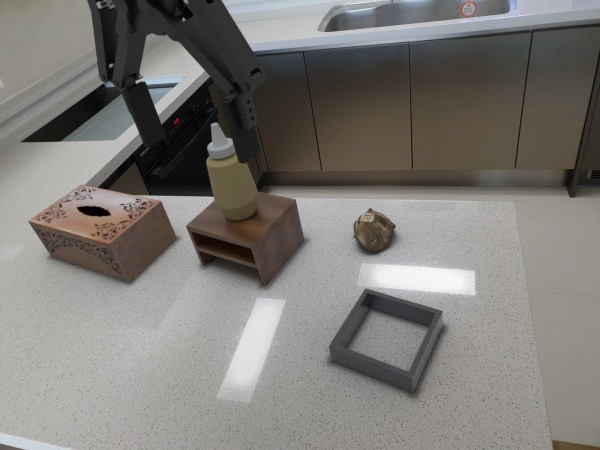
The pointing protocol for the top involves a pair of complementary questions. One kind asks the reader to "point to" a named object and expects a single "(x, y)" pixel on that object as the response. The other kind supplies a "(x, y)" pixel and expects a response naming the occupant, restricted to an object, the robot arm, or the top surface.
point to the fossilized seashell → (373, 230)
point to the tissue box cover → (105, 231)
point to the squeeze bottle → (230, 178)
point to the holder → (374, 366)
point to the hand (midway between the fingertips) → (199, 149)
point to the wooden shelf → (250, 235)
